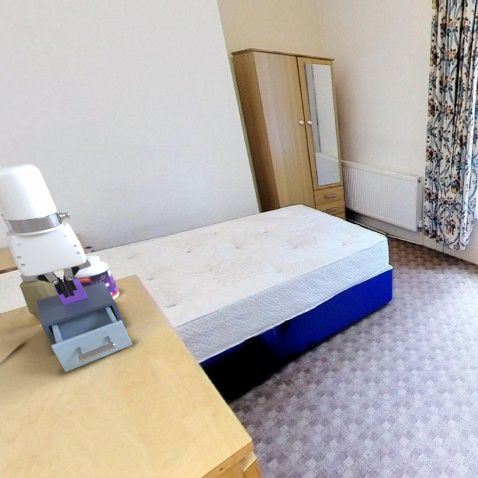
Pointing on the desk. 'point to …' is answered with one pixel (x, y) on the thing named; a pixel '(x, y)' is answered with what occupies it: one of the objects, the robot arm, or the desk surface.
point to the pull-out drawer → (88, 338)
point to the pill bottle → (97, 275)
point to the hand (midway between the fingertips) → (69, 294)
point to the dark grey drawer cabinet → (75, 307)
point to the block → (78, 293)
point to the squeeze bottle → (36, 293)
